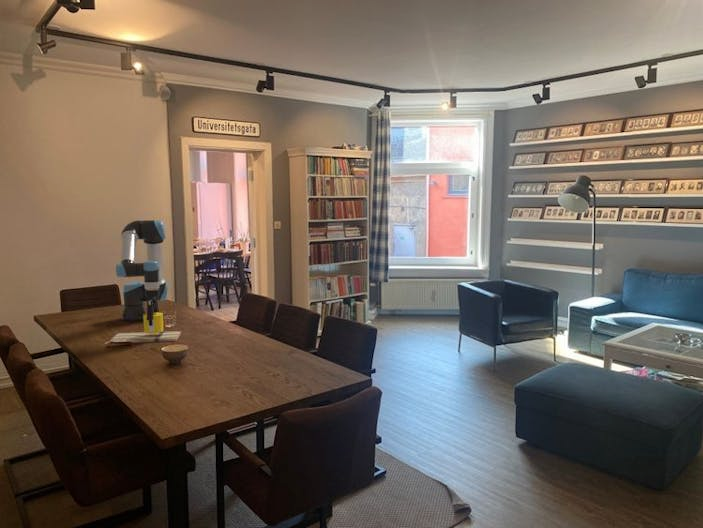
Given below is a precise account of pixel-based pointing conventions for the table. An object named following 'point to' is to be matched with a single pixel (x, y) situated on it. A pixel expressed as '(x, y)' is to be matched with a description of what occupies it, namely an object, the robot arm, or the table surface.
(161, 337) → the board
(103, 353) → the table surface
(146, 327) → the tape roll
